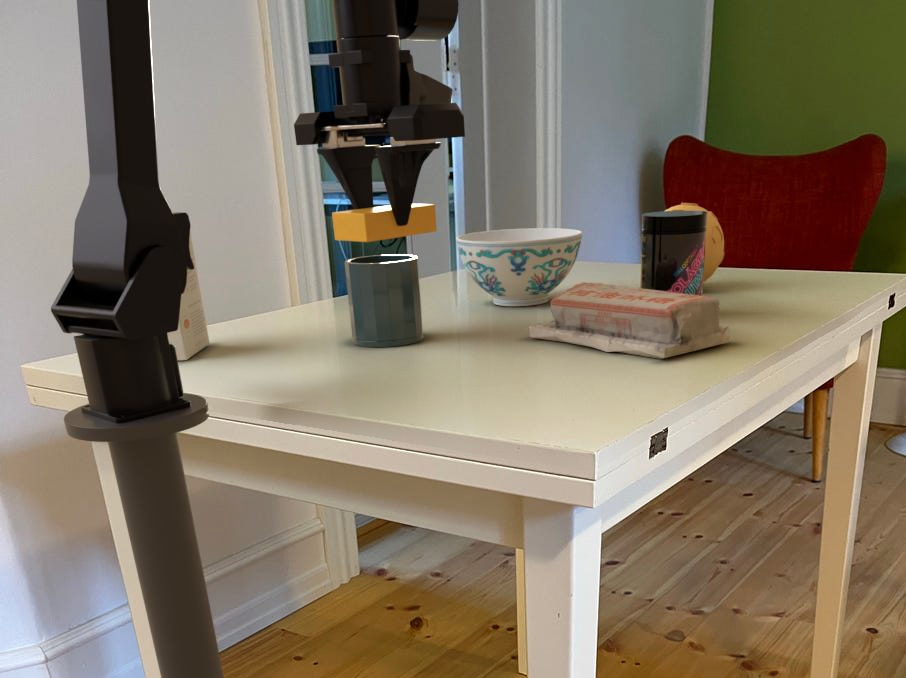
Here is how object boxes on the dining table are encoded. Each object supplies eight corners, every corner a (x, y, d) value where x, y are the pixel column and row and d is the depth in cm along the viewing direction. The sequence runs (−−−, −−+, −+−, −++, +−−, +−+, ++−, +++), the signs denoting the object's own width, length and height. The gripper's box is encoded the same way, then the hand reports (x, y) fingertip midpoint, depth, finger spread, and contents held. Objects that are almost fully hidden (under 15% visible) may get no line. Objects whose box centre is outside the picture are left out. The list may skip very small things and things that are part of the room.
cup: (384, 350, 99) (377, 265, 95) (339, 342, 103) (330, 261, 100) (437, 337, 103) (432, 256, 100) (391, 331, 108) (385, 253, 104)
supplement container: (651, 324, 104) (655, 217, 99) (630, 314, 110) (632, 213, 105) (712, 319, 105) (718, 213, 100) (687, 310, 111) (692, 209, 106)
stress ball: (640, 296, 121) (642, 207, 116) (643, 284, 129) (645, 201, 125) (723, 294, 119) (729, 204, 114) (721, 282, 128) (726, 198, 123)
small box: (153, 347, 106) (127, 215, 100) (211, 345, 106) (189, 212, 100) (125, 363, 99) (96, 223, 93) (187, 360, 99) (162, 219, 93)
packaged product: (737, 290, 91) (666, 306, 85) (734, 344, 93) (664, 362, 88) (596, 276, 103) (526, 289, 98) (595, 324, 106) (527, 339, 100)
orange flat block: (367, 242, 93) (364, 213, 92) (334, 240, 96) (331, 212, 95) (436, 231, 98) (435, 204, 97) (404, 229, 102) (401, 203, 101)
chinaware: (447, 298, 126) (443, 234, 123) (558, 289, 129) (557, 225, 126) (477, 316, 113) (474, 244, 110) (600, 305, 116) (600, 234, 113)
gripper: (503, 30, 88) (510, 218, 96) (371, 48, 100) (386, 214, 108) (410, 28, 82) (425, 231, 89) (280, 48, 94) (303, 225, 101)
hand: (385, 224), depth 97 cm, fingers closed on orange flat block, 5 cm apart
